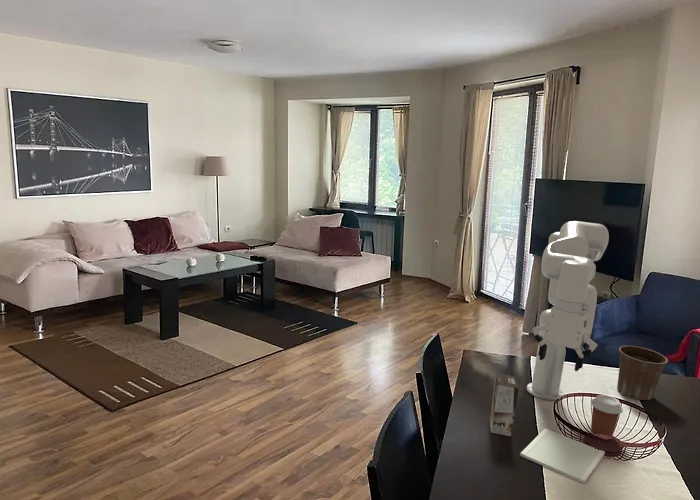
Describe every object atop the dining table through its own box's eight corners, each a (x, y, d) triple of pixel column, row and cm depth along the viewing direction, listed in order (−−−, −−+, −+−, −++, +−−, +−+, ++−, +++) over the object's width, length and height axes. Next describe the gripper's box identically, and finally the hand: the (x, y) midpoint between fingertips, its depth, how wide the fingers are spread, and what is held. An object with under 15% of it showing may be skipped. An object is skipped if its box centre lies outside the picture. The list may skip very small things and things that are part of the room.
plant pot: (667, 399, 205) (676, 358, 201) (645, 408, 195) (654, 365, 192) (625, 381, 218) (633, 343, 214) (603, 389, 209) (610, 349, 205)
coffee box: (511, 436, 168) (519, 388, 165) (490, 433, 169) (497, 384, 166) (509, 422, 177) (516, 375, 173) (489, 418, 178) (495, 372, 175)
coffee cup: (618, 445, 168) (625, 409, 166) (586, 437, 171) (593, 402, 169) (615, 431, 177) (622, 397, 174) (585, 424, 180) (591, 390, 177)
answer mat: (544, 430, 173) (545, 428, 173) (604, 454, 162) (605, 451, 162) (520, 455, 158) (520, 452, 158) (584, 483, 147) (585, 480, 147)
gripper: (606, 311, 147) (595, 370, 151) (542, 295, 157) (533, 351, 161) (599, 316, 141) (587, 378, 145) (533, 300, 152) (524, 358, 155)
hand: (559, 364), depth 153 cm, fingers open, 9 cm apart
